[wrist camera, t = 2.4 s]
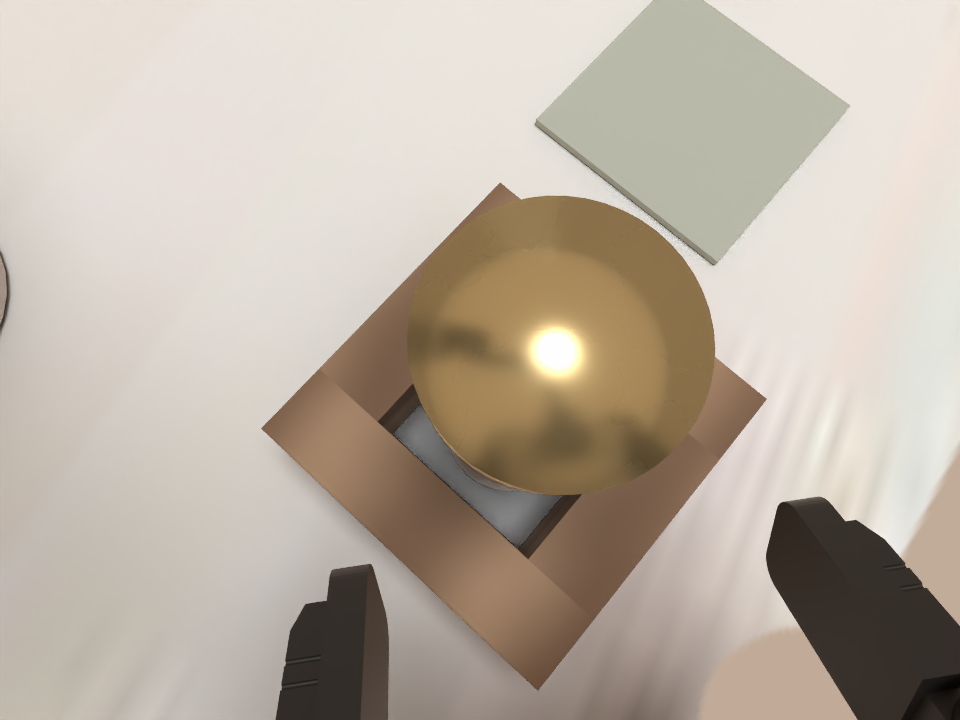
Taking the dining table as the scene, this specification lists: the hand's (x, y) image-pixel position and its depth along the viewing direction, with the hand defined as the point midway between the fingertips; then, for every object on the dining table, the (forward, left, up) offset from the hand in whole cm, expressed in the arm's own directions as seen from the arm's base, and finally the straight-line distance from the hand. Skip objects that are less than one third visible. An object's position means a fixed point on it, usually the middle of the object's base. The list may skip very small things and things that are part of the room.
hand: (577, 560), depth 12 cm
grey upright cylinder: (-3, +3, -12) cm, 12 cm away
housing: (-3, +3, -12) cm, 12 cm away
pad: (-6, +19, -12) cm, 23 cm away
